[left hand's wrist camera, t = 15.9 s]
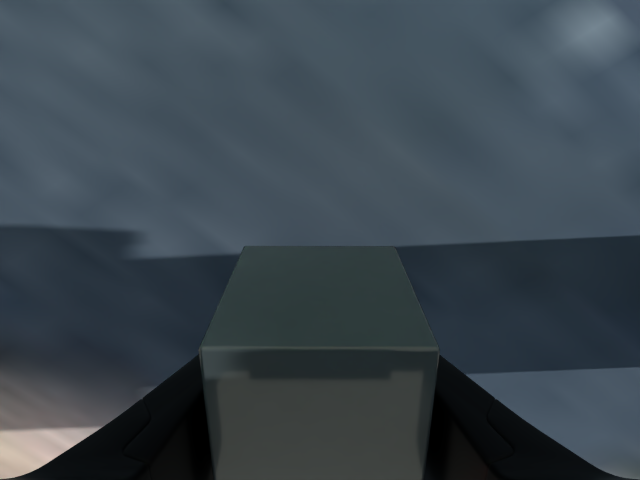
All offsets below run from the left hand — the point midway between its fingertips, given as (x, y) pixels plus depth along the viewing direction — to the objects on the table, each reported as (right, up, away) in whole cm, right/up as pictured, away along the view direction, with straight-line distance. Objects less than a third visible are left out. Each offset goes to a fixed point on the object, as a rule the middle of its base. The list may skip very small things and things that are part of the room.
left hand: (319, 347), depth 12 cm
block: (0, 0, +1) cm, 1 cm away
